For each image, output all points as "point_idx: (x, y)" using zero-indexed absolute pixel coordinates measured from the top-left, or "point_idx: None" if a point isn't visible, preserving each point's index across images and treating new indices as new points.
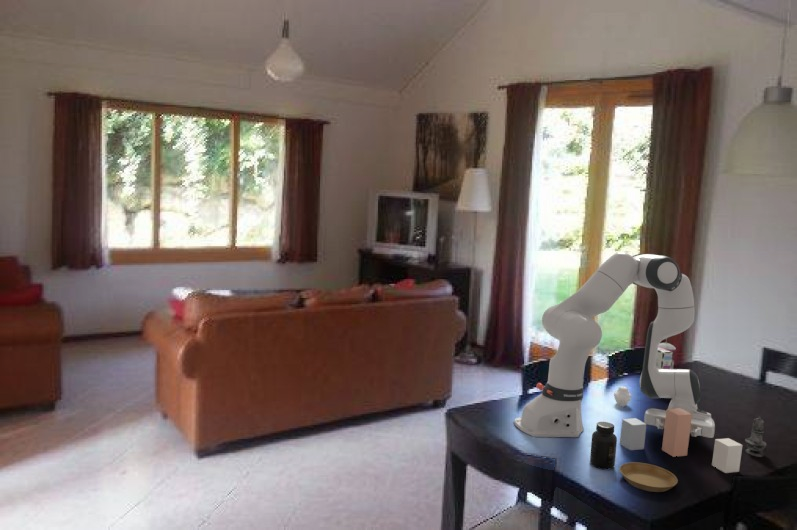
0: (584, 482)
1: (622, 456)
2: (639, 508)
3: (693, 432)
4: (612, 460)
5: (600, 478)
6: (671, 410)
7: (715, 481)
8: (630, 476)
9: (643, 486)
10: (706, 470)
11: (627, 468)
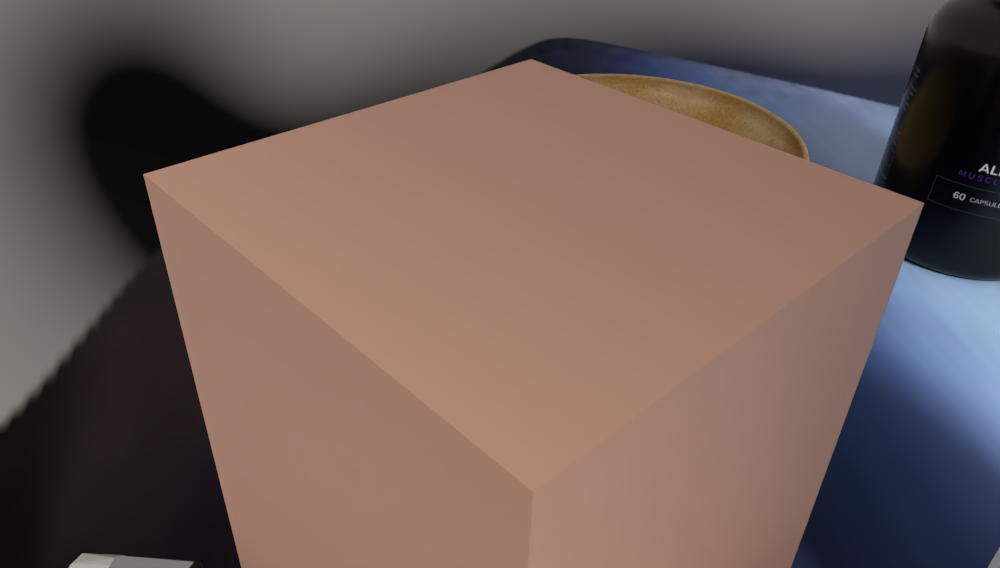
0: (876, 106)
1: (945, 395)
2: (600, 58)
3: (160, 558)
4: (882, 158)
5: (845, 142)
6: (763, 187)
7: (164, 321)
8: None
9: (623, 89)
10: (165, 469)
11: None
